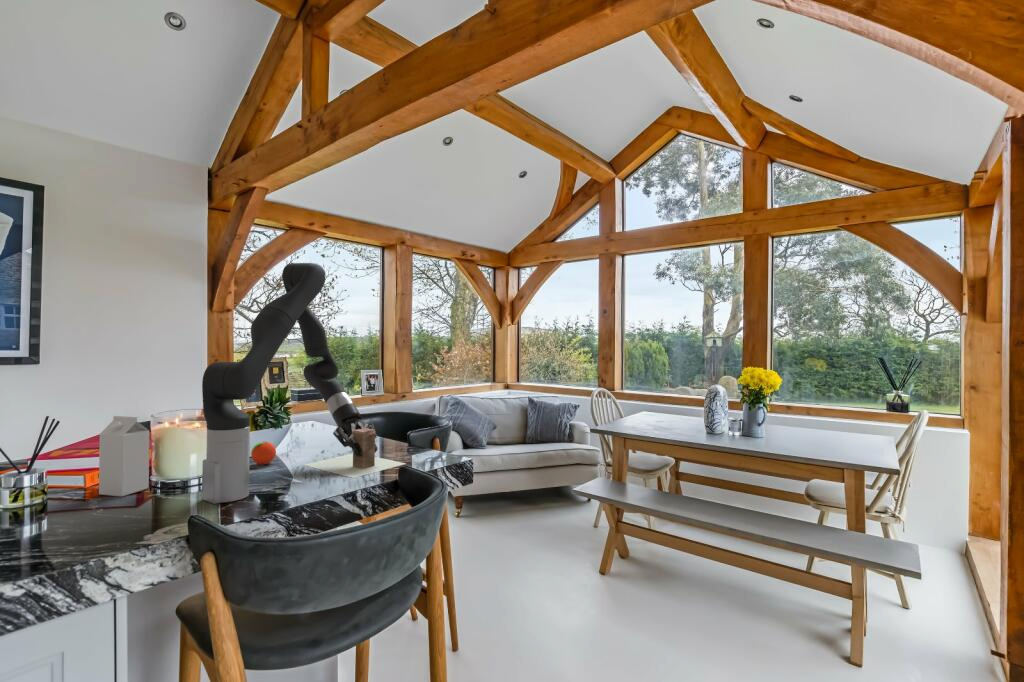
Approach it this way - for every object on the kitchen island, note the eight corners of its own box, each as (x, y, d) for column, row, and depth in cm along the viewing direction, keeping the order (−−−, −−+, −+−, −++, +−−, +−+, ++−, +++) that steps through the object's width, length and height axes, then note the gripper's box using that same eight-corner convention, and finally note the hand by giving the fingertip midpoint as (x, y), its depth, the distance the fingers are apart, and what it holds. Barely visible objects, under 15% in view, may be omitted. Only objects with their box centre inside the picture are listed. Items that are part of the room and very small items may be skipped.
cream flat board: (353, 479, 138) (353, 477, 138) (302, 466, 152) (302, 464, 152) (406, 465, 155) (406, 463, 155) (356, 454, 168) (356, 452, 168)
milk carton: (126, 486, 129) (127, 413, 129) (148, 488, 128) (149, 415, 128) (98, 495, 122) (99, 418, 122) (122, 497, 121) (123, 419, 121)
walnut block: (362, 468, 148) (363, 431, 148) (352, 466, 150) (353, 430, 150) (374, 465, 152) (375, 429, 152) (364, 463, 154) (365, 428, 154)
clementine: (259, 468, 149) (260, 445, 149) (242, 466, 151) (243, 443, 151) (281, 462, 156) (281, 440, 156) (264, 460, 159) (264, 438, 159)
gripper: (328, 404, 149) (354, 450, 143) (367, 400, 161) (392, 442, 154) (317, 420, 152) (342, 465, 146) (356, 415, 164) (380, 456, 157)
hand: (367, 453), depth 150 cm, fingers open, 5 cm apart
